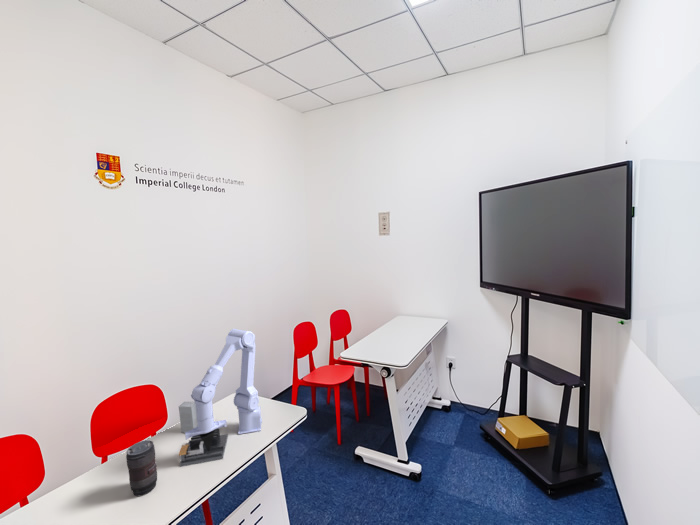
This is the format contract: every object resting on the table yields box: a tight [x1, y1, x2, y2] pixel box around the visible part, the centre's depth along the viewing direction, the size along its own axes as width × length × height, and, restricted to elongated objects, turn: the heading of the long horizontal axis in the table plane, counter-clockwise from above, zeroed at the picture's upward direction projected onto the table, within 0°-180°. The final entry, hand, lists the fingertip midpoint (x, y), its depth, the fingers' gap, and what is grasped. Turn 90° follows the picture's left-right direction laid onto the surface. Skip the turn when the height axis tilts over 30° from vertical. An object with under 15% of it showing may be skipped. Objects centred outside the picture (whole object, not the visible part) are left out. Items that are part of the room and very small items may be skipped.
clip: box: [179, 441, 205, 461], centre depth 125 cm, size 8×2×4 cm, turn 103°
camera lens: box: [125, 439, 158, 497], centre depth 111 cm, size 8×8×15 cm
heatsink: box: [178, 428, 229, 467], centre depth 130 cm, size 15×14×5 cm
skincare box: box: [178, 401, 198, 433], centre depth 144 cm, size 6×4×12 cm
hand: (208, 449), depth 127 cm, fingers closed
